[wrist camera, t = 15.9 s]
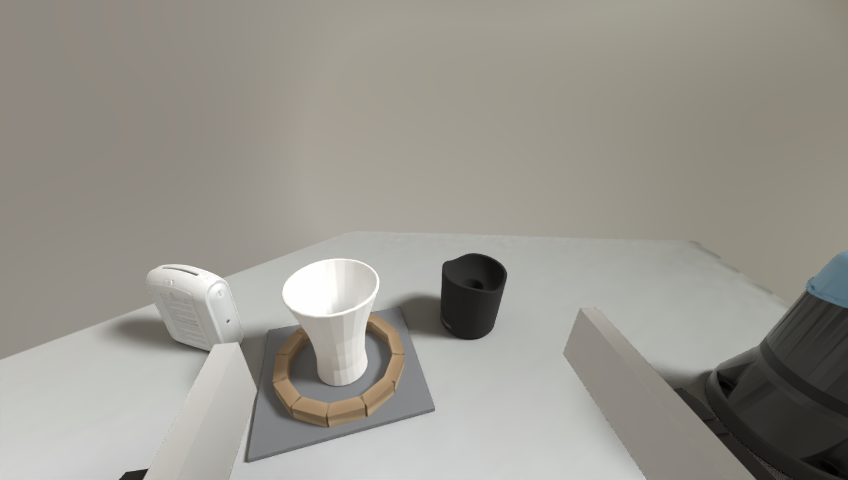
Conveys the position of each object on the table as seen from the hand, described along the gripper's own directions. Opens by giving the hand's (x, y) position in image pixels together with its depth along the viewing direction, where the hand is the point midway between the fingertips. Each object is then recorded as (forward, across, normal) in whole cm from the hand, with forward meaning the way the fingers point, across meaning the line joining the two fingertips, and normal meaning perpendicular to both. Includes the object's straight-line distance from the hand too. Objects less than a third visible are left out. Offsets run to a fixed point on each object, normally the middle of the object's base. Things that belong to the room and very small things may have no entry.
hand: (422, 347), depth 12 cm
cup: (+20, -7, -26) cm, 33 cm away
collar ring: (+20, -7, -26) cm, 34 cm away
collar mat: (+20, -7, -26) cm, 34 cm away
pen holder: (+27, +12, -27) cm, 40 cm away
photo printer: (+28, -26, -26) cm, 46 cm away
